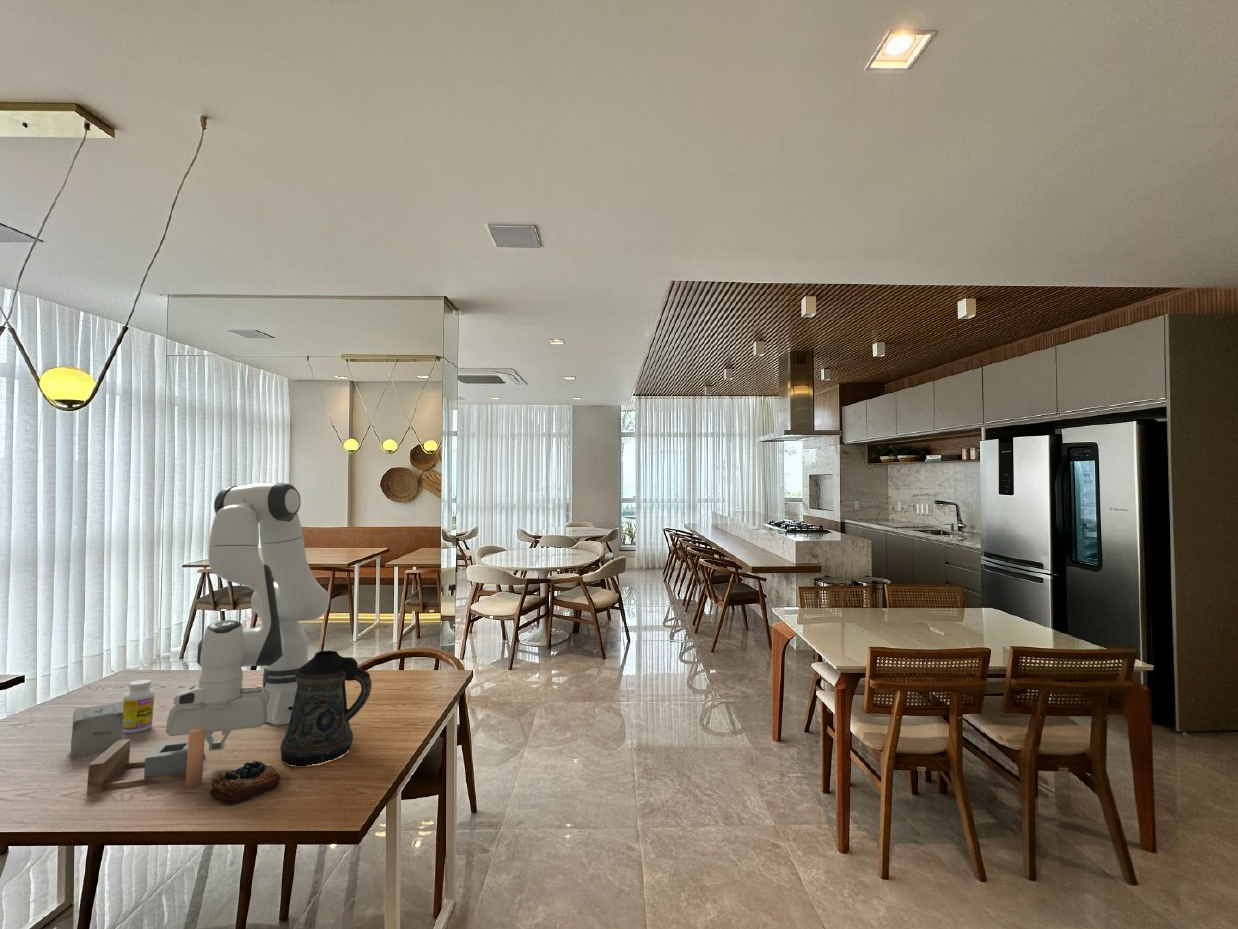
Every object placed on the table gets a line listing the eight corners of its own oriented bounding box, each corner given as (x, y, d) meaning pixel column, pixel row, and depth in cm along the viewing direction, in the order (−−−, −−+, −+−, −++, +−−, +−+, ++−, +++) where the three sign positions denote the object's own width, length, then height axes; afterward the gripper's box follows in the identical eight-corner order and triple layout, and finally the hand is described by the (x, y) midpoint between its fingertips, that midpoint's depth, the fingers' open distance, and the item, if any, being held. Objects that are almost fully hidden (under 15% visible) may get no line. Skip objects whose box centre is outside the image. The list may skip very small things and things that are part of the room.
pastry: (202, 796, 126) (204, 768, 127) (260, 775, 137) (261, 749, 137) (228, 810, 121) (230, 781, 121) (286, 787, 131) (287, 760, 131)
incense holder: (69, 761, 142) (72, 717, 143) (70, 750, 148) (73, 708, 149) (122, 750, 149) (125, 708, 150) (120, 740, 155) (123, 699, 156)
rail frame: (206, 755, 146) (207, 731, 146) (187, 780, 133) (189, 753, 133) (115, 766, 140) (117, 740, 140) (86, 793, 127) (88, 764, 127)
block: (198, 759, 143) (199, 738, 144) (186, 775, 135) (187, 753, 135) (158, 764, 141) (160, 742, 141) (143, 780, 132) (145, 758, 132)
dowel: (203, 781, 133) (207, 726, 134) (199, 787, 130) (203, 731, 131) (188, 783, 132) (191, 728, 133) (183, 789, 129) (186, 733, 130)
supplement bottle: (134, 735, 158) (137, 686, 159) (114, 733, 160) (118, 684, 160) (158, 726, 165) (161, 679, 166) (139, 724, 166) (142, 677, 167)
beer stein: (273, 751, 149) (278, 651, 151) (354, 733, 161) (358, 640, 163) (287, 774, 136) (292, 665, 138) (373, 753, 149) (377, 652, 151)
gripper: (272, 682, 149) (268, 739, 148) (175, 690, 141) (171, 749, 140) (266, 690, 143) (263, 748, 142) (165, 698, 136) (161, 760, 135)
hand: (216, 749), depth 141 cm, fingers closed
